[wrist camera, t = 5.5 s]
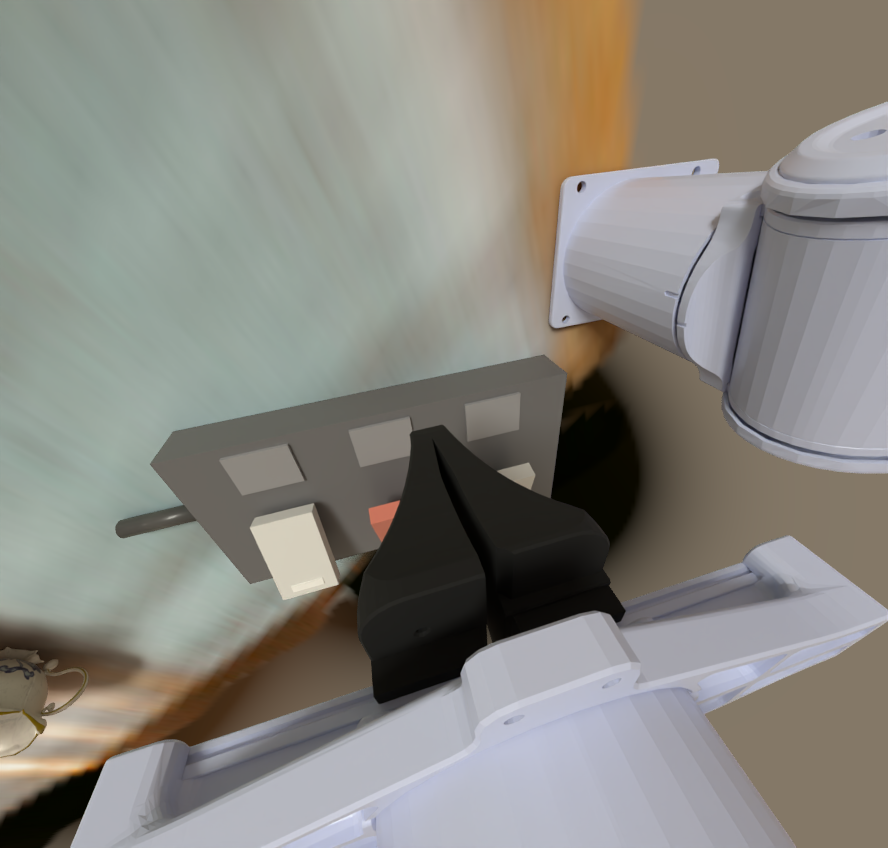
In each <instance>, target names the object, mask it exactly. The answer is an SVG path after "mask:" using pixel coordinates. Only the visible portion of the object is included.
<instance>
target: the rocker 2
mask: <svg viewBox="0 0 888 848" xmlns="http://www.w3.org/2000/svg"><path fill="white" fill-rule="evenodd" d="M497 472H499V473H501V474H502V475H504V476H505V477H507V478H509V479H511V480H512V481H514V482H516V483H518V484H520V485H522V486H524V487H526V488H528V489H530V490H531V487H532V484H533V481H534V478H535V473H534V471H533V470H532V468H531V466H530V464H529V463H525V464H521V465H517V466H514V467H510V468H506V469H502V470H498V471H497Z"/></svg>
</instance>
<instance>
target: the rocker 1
mask: <svg viewBox="0 0 888 848" xmlns="http://www.w3.org/2000/svg"><path fill="white" fill-rule="evenodd" d="M250 530H251V532H252V534H253V536H254V538H255V540H256V542H257V545H258V547H259V549H260V551H261V553H262V555H263V557H264V560H265V562H266V564H267V566H268V568H269V570H270V572H271V574H272V577H273V579H274V581H275V583H276V585H277V587H278V589H279V592H280V594H281V596H282V598H283V600H286V599H289V598H293V597H296V596H300V595H303V594H307V593H310V592H314V591H317V590H321V589H324V588H328V587H331V586H335V585H338V584H339V575H340V573H339V570H338V567H337V565H336V562H335V559H334V556H333V554H332V551H331V548H330V545H329V543H328V540H327V537H326V534H325V532H324V529H323V526H322V523H321V521H320V518H319V515H318V512H317V510H316V507H315V504H314V503H312V504H308V505H304V506H300V507H296V508H292V509H288V510H284V511H280V512H276V513H272V514H268V515H264V516H260V517H256V518H254V520H253V522H252V524H251V526H250Z"/></svg>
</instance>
